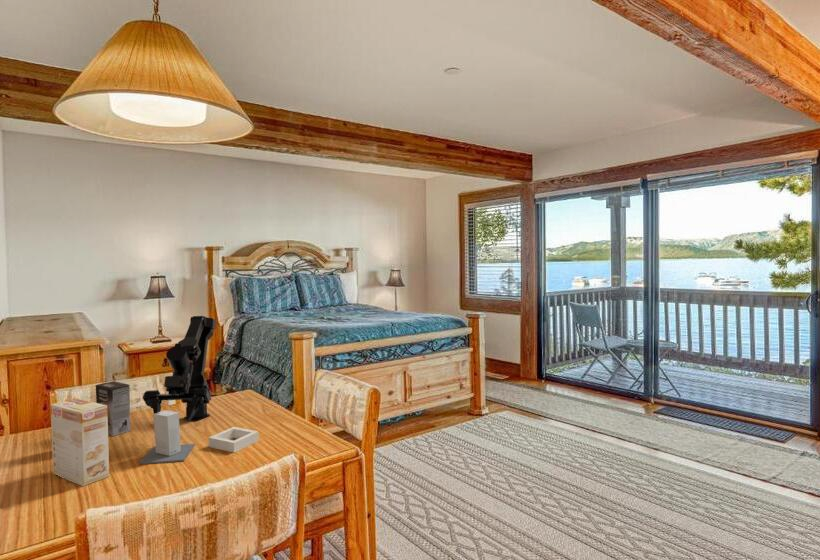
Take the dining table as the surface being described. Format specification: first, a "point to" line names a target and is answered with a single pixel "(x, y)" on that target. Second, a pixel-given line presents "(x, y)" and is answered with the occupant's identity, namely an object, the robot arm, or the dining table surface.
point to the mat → (160, 458)
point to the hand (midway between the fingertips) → (172, 422)
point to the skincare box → (167, 432)
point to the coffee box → (115, 405)
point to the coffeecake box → (80, 441)
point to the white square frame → (242, 441)
